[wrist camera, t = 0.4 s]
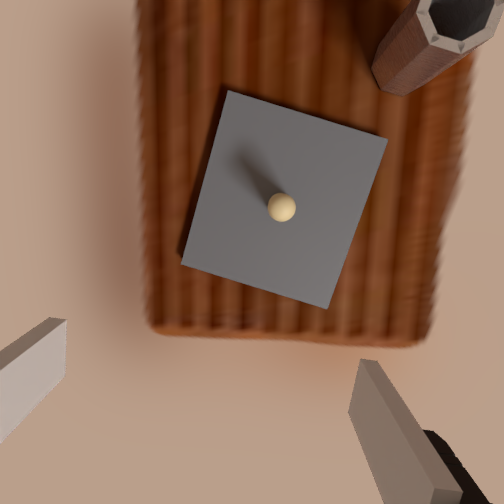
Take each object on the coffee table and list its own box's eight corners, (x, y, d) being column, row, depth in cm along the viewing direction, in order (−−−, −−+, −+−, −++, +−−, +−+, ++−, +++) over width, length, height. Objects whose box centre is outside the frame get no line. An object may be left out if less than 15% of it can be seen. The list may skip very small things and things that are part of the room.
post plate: (229, 94, 39) (216, 62, 29) (383, 141, 39) (420, 125, 29) (184, 261, 43) (158, 282, 33) (325, 305, 43) (340, 338, 33)
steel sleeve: (384, 26, 37) (438, -50, 25) (439, 43, 37) (517, -26, 25) (365, 84, 38) (407, 37, 26) (417, 101, 38) (483, 61, 26)
